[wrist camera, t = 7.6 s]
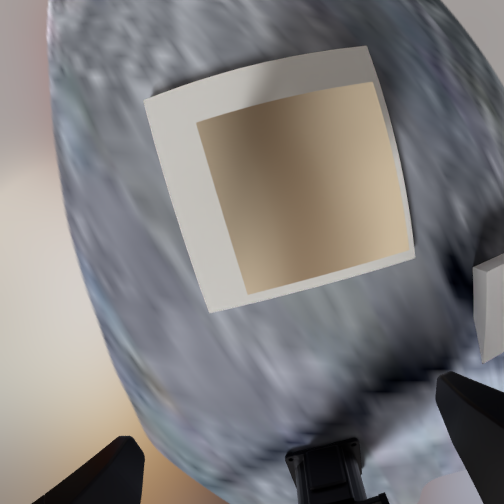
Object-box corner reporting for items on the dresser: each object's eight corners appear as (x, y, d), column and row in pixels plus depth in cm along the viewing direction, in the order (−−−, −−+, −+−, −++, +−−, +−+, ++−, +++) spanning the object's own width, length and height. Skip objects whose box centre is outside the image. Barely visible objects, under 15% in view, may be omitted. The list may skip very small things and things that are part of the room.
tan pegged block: (328, 111, 16) (372, 81, 9) (355, 216, 17) (409, 250, 11) (220, 138, 16) (195, 122, 10) (251, 243, 18) (247, 295, 11)
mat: (409, 254, 19) (415, 258, 18) (211, 307, 20) (209, 313, 19) (362, 49, 15) (366, 45, 14) (147, 102, 16) (143, 100, 16)
